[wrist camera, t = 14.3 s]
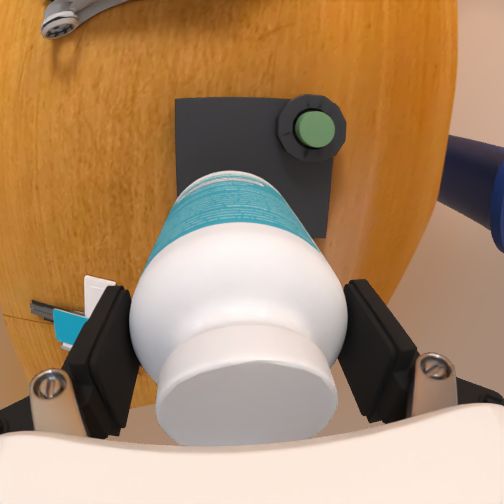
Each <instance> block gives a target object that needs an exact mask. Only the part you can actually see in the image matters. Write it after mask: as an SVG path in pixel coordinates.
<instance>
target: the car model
mask: <svg viewBox="0 0 504 504" xmlns="http://www.w3.org/2000/svg"><path fill="white" fill-rule="evenodd" d="M126 1H129V0H51V3H50V4H49V5H48V7H47V9H46V10H45V12H44V22H43V23H42V26H41V33H42V36H43V38H45V39H55V38H59V37H62V36H64V35H67V34H69V33H71V32H72V31H73V30H74V29H76V28H77V27H78V26H79V25H80V24H82V23H83V22H84V21H86V20H87V19H89V18H90V17H92V16H94V15H95V14H97V13H99V12H101V11H103V10H105V9H108V8H110V7H112V6H115V5H118V4H120V3H123V2H126Z"/></svg>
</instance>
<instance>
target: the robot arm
mask: <svg viewBox="0 0 504 504" xmlns="http://www.w3.org/2000/svg"><path fill="white" fill-rule="evenodd" d="M343 292H344V295H345V299H346V304H347V313H348V322H347V332H346V336H345V340H344V344H343V347H342V349H341V351H340V354H339V356H338V360H339V363H340V365H341V367H342V370H343V372H344V374H345V376H346V379H347V381H348V384H349V386H350V388H351V391H352V393H353V395H354V397H355V400H356V403H357V405H358V407H359V410H360V412H361V414H362V415H363V416H366V417H367V419H368V421H369V423H373V422H377V421H381V420H382V422H383V423H385V424H384V425H380V426H376V427H371V428H367V429H363V430H358V431H353V432H348V433H343V434H337V435H331V436H326V437H319V438H312V439H305V440H297V441H289V442H280V443H269V444H256V445H239V446H169V445H152V444H140V443H130V442H120V441H111V440H104V439H105V438H107V437H108V435H112V436H119V434H120V430H121V428H125V427H126V422H127V418H128V413H129V409H130V404H131V400H132V395H133V391H134V387H135V383H136V378H137V374H138V370H139V366H140V361H139V360H138V358H137V356H136V354H135V351H134V348H133V345H132V341H131V337H130V329H129V314H130V308H131V298H130V293H129V290H125V289H124V287H123V286H107V287H106V289H105V290H104V292H103V294H102V296H101V297H100V299H99V301H98V303H97V305H96V306H95V308H94V310H93V312H92V314H91V316H90V318H89V319H88V321H86V322H85V323H84V325H83V327H82V329H81V330H80V332H79V334H78V336H77V338H76V340H75V342H74V344H73V346H72V348H71V350H70V352H69V354H68V356H67V358H66V360H65V362H64V364H63V366H62V368H61V369H59V368H50V369H45V370H43V371H41V372H39V373H38V374H36V375H35V376H34V378H33V379H32V380H31V382H30V385H29V396H28V397H26V398H24V399H22V400H20V401H18V402H16V403H14V404H12V405H10V406H8V407H6V408H4V409H2V410H0V504H504V399H503V397H502V396H501V395H500V394H499V393H497V392H495V391H493V390H490V389H487V388H484V387H482V386H479V385H476V384H473V383H471V382H468V381H465V380H463V379H460V378H457V377H456V372H455V368H454V365H453V364H452V363H451V361H450V360H449V359H448V358H446V357H445V356H443V355H441V354H438V353H430V352H428V353H424V354H422V355H420V354H419V353H418V351H417V347H416V346H415V344H414V343H413V341H412V340H411V339H410V337H409V336H408V335H407V333H406V332H405V330H404V329H403V328H402V326H401V325H400V323H399V322H398V321H397V320H396V318H395V317H394V316H393V314H392V313H391V311H390V310H389V309H388V308H387V306H386V305H385V303H384V302H383V301H382V300H381V298H380V297H379V296H378V294H377V293H376V292H375V290H374V289H373V288H372V287H371V285H370V284H369V283H368V281H367V280H365V279H360V280H350V281H349V284H346V285H345V286H344V290H343Z"/></svg>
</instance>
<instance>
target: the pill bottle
mask: <svg viewBox="0 0 504 504" xmlns="http://www.w3.org/2000/svg"><path fill="white" fill-rule="evenodd" d="M347 322H348V313H347V304H346V299H345V295H344V292H343V289H342V287H341V284H340V282H339V280H338V278H337V276H336V275H335V273H334V271H333V270H332V268H331V267H330V265H329V263H328V262H327V260H326V259H325V257H324V256H323V254H322V253H321V251H320V250H319V248H318V247H317V245H316V244H315V242H314V241H313V240H312V238H311V237H310V235H309V234H308V232H307V231H306V229H305V228H304V226H303V225H302V223H301V222H300V221H299V219H298V218H297V216H296V215H295V214H294V212H293V211H292V209H291V208H290V206H289V205H288V203H287V202H286V201H285V200H284V198H283V197H282V196H281V194H280V193H279V192H278V191H277V190H276V189H275V188H274V187H273V186H272V185H271V184H269V183H268V182H267V181H265V180H263V179H262V178H260V177H258V176H255V175H253V174H250V173H246V172H241V171H220V172H216V173H212V174H209V175H206V176H204V177H202V178H200V179H198V180H196V181H195V182H193V183H192V184H191V185H189V186H188V187H187V188H186V189H185V190H184V191H183V192H182V193H181V194H180V196H179V197H178V198H177V200H176V202H175V203H174V205H173V207H172V209H171V211H170V213H169V215H168V217H167V219H166V221H165V224H164V226H163V228H162V230H161V232H160V234H159V237H158V239H157V241H156V243H155V245H154V247H153V250H152V252H151V254H150V256H149V259H148V261H147V263H146V266H145V268H144V270H143V272H142V275H141V277H140V279H139V282H138V285H137V287H136V290H135V292H134V295H133V298H132V302H131V308H130V314H129V329H130V337H131V341H132V345H133V348H134V351H135V354H136V356H137V358H138V360H139V361H140V363H141V365H142V367H143V368H144V370H145V371H146V372H147V374H148V375H149V376H150V377H151V378H152V379H153V381H154V382H156V383H157V384H158V390H157V398H156V408H155V409H156V416H157V419H158V422H159V424H160V426H161V427H162V429H163V430H164V431H165V433H166V434H167V435H168V436H169V437H171V438H172V439H173V440H174V441H175V442H177V443H179V444H180V445H182V446H239V445H256V444H269V443H280V442H289V441H297V440H305V439H311V438H312V437H314V436H315V435H316V434H318V433H319V432H320V431H321V430H322V429H323V428H324V427H325V426H326V425H327V424H328V423H329V421H330V420H331V418H332V417H333V415H334V413H335V410H336V407H337V402H338V395H337V390H336V387H335V383H334V381H333V377H332V374H331V371H330V368H331V367H332V365H333V364H334V363H335V361H336V359H337V358H338V356H339V354H340V351H341V349H342V347H343V344H344V340H345V336H346V332H347Z"/></svg>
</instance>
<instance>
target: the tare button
mask: <svg viewBox="0 0 504 504" xmlns="http://www.w3.org/2000/svg"><path fill="white" fill-rule="evenodd" d="M295 132H296V135H297V137H298V139H299V140H300V141H301V142H302V143H304V144H306V145H309V146H311V147H316V148H319V147H324V146H326V145H327V144H329V143H330V142H331V140H332V139H333V137H334V134H335V126H334V123H333V121H332V119H331V118H330V117H329V116H328V115H327V114H325V113H323V112H319V111H310V112H306V113H304V114H302V115H301V116H300V117H299V118H298V120H297V122H296V125H295Z"/></svg>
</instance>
